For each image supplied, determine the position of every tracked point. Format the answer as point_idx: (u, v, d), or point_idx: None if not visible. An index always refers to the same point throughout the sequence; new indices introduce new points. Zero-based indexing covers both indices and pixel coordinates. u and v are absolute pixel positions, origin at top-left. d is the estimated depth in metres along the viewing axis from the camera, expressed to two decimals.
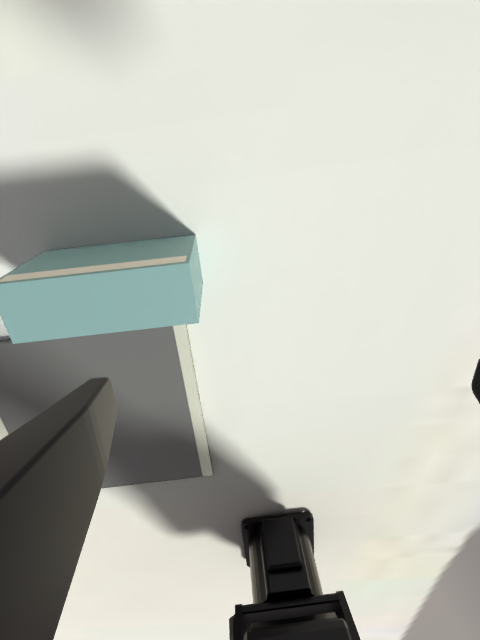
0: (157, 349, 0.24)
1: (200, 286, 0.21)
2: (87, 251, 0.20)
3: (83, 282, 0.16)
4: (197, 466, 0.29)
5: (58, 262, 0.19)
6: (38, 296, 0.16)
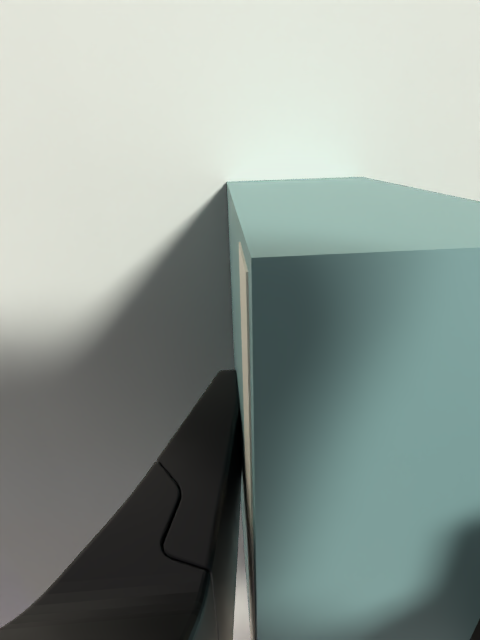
0: None
1: (381, 187, 0.06)
2: None
3: (283, 627, 0.05)
4: None
5: None
6: None
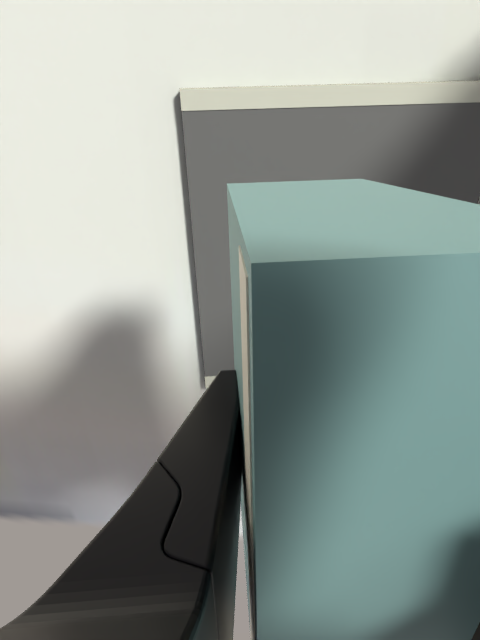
0: (223, 144, 0.16)
1: (381, 189, 0.06)
2: None
3: (283, 630, 0.05)
4: (475, 109, 0.16)
5: None
6: None
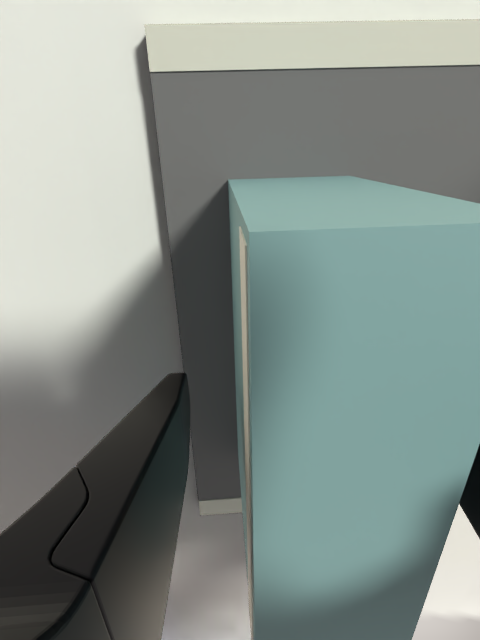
0: (231, 138, 0.08)
1: (364, 184, 0.07)
2: None
3: (276, 553, 0.05)
4: None
5: (243, 493, 0.09)
6: (297, 626, 0.06)
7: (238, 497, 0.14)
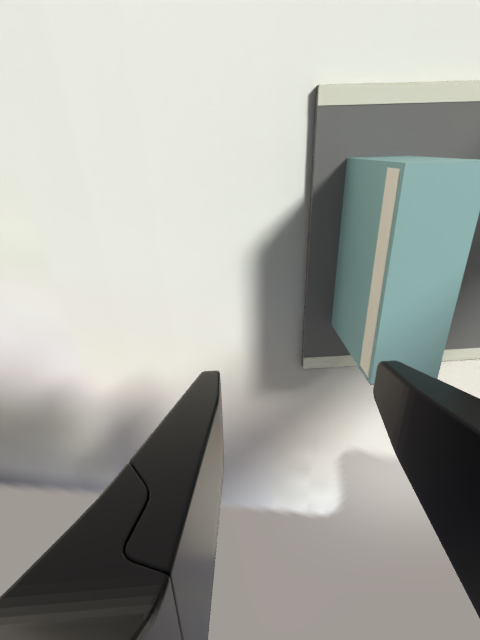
0: (351, 137, 0.17)
1: (421, 157, 0.16)
2: (344, 285, 0.19)
3: (392, 297, 0.14)
4: None
5: (354, 316, 0.18)
6: (394, 344, 0.15)
7: (327, 356, 0.22)
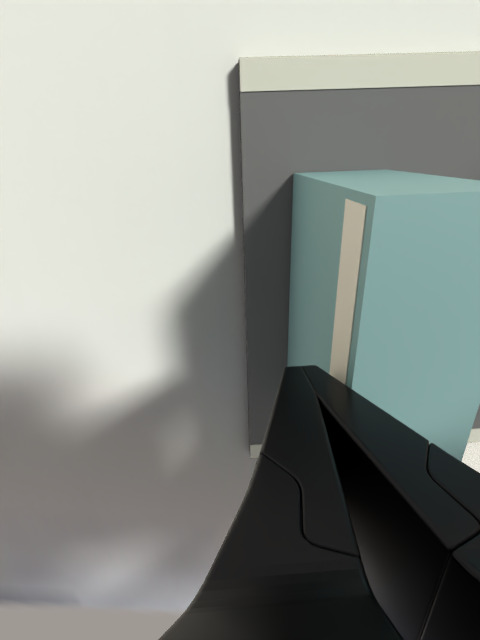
0: (298, 141, 0.11)
1: (406, 174, 0.10)
2: (296, 361, 0.13)
3: None
4: None
5: None
6: None
7: None
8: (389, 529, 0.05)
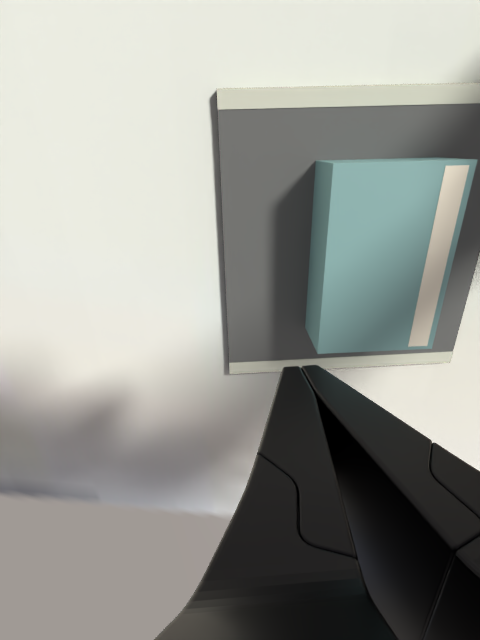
0: (255, 141, 0.17)
1: (363, 159, 0.17)
2: (350, 299, 0.17)
3: None
4: None
5: (386, 314, 0.18)
6: None
7: (253, 361, 0.22)
8: (392, 529, 0.05)
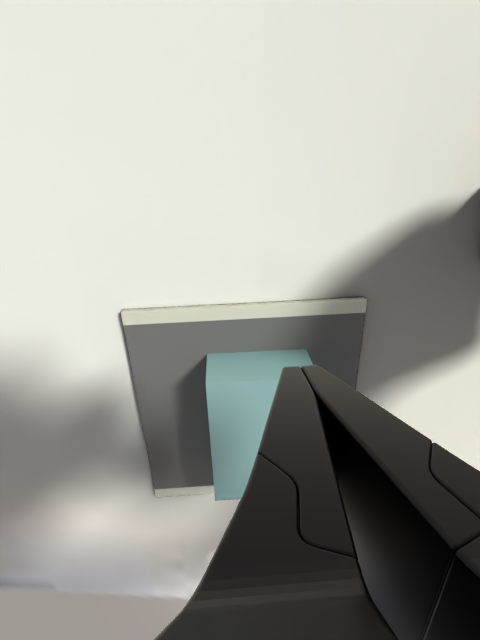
0: (156, 343, 0.21)
1: (243, 356, 0.21)
2: (235, 464, 0.22)
3: None
4: (345, 317, 0.21)
5: None
6: None
7: (175, 487, 0.26)
8: (392, 529, 0.05)
